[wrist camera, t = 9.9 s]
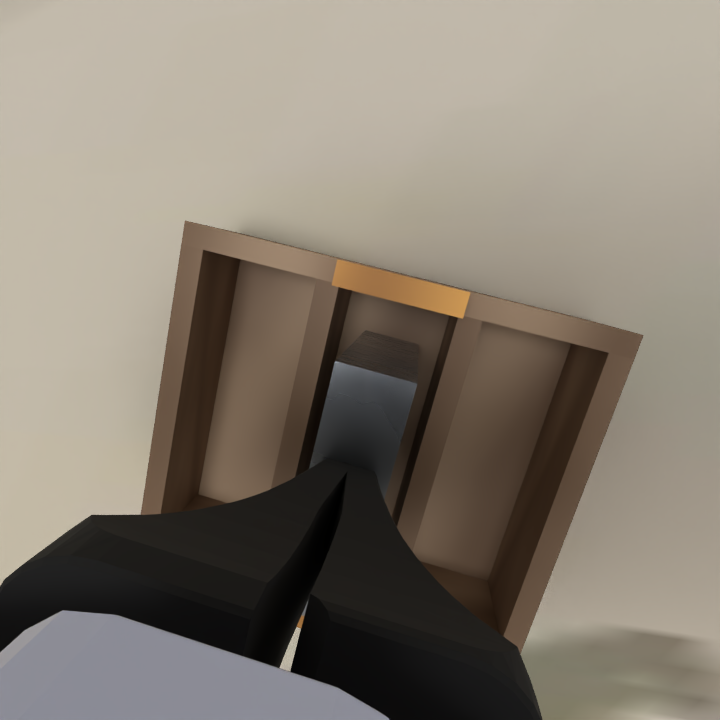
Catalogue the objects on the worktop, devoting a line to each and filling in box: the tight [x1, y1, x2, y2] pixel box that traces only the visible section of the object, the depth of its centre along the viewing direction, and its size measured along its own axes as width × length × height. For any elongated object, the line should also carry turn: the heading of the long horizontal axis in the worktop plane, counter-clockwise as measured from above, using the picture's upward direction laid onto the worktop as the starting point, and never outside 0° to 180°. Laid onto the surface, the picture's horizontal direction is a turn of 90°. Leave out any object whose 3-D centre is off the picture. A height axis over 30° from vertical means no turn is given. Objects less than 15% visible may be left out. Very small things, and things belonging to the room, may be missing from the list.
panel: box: [302, 330, 419, 616], centre depth 14 cm, size 2×7×6 cm, turn 166°
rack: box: [141, 221, 643, 654], centre depth 15 cm, size 14×11×5 cm
